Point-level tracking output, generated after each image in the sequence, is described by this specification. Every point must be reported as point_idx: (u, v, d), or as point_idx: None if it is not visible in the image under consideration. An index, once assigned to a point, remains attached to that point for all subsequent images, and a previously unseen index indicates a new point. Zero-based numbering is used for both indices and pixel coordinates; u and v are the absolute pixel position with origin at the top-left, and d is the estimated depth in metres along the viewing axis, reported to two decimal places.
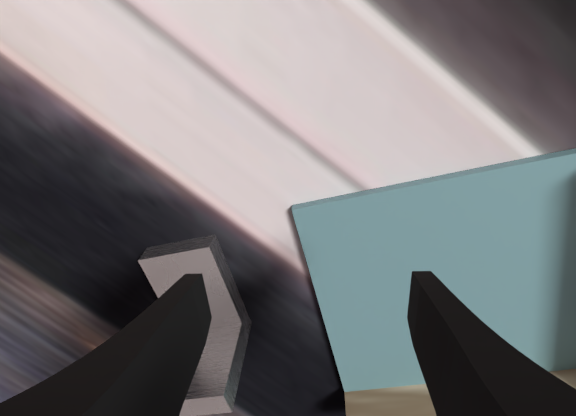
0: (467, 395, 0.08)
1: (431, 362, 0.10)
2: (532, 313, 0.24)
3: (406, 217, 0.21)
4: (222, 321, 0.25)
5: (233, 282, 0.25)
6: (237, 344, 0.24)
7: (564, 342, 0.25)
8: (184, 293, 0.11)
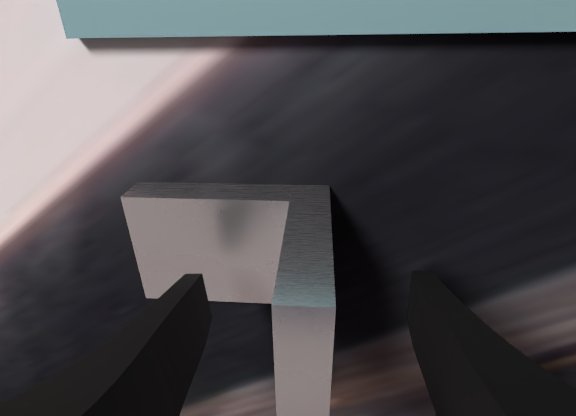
0: (467, 395, 0.08)
1: (431, 362, 0.10)
2: None
3: None
4: (279, 230, 0.14)
5: (227, 185, 0.15)
6: (288, 225, 0.12)
7: None
8: (184, 293, 0.11)
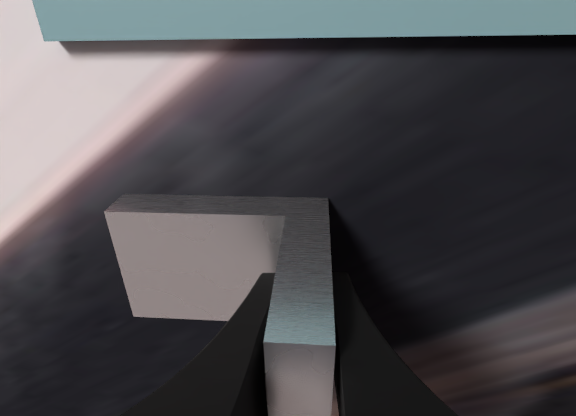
0: (341, 392, 0.08)
1: (335, 360, 0.10)
2: None
3: None
4: (274, 247, 0.13)
5: (219, 198, 0.14)
6: (283, 244, 0.11)
7: None
8: None
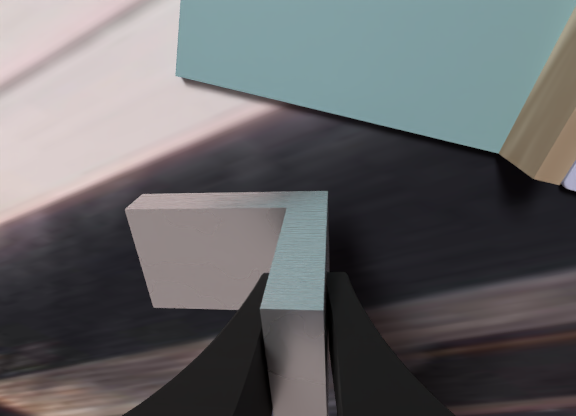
0: (339, 392, 0.08)
1: (333, 360, 0.10)
2: None
3: None
4: (279, 237, 0.14)
5: (228, 194, 0.15)
6: (284, 231, 0.12)
7: None
8: None
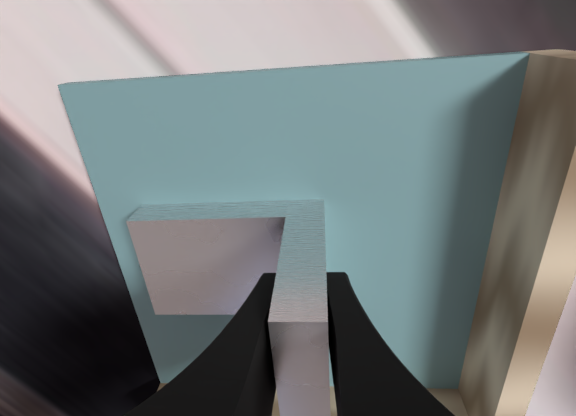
0: None
1: (333, 360, 0.10)
2: (404, 305, 0.17)
3: (231, 126, 0.14)
4: (278, 245, 0.15)
5: (227, 204, 0.15)
6: (284, 242, 0.12)
7: (442, 351, 0.19)
8: None
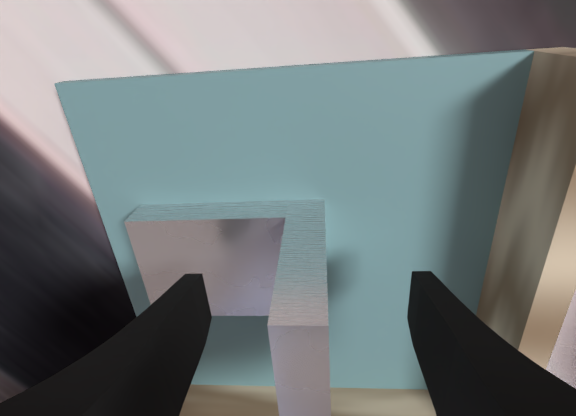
0: (467, 395, 0.08)
1: (430, 362, 0.10)
2: (405, 306, 0.17)
3: (231, 126, 0.14)
4: (278, 246, 0.14)
5: (226, 204, 0.15)
6: (284, 243, 0.12)
7: None
8: (184, 293, 0.11)
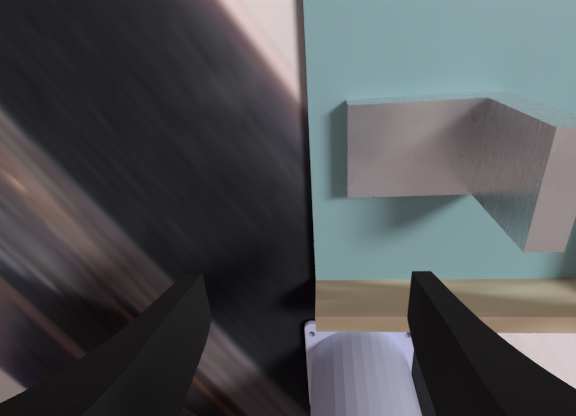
0: (467, 395, 0.08)
1: (430, 362, 0.10)
2: None
3: (442, 23, 0.17)
4: (474, 125, 0.17)
5: (423, 95, 0.18)
6: (508, 104, 0.15)
7: None
8: (184, 293, 0.11)
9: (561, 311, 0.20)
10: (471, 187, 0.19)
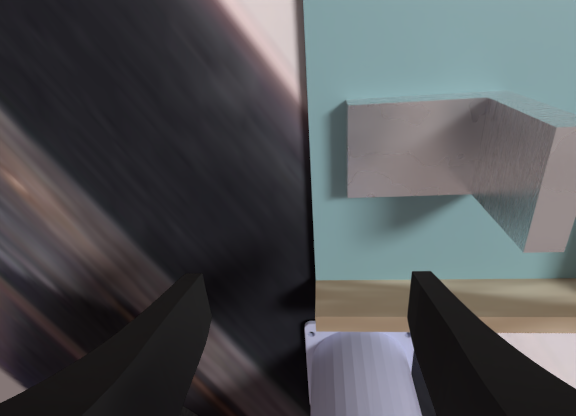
0: (467, 395, 0.08)
1: (430, 362, 0.10)
2: None
3: (442, 23, 0.17)
4: (474, 125, 0.17)
5: (423, 95, 0.18)
6: (508, 104, 0.15)
7: None
8: (184, 293, 0.11)
9: (561, 311, 0.20)
10: (471, 187, 0.19)
